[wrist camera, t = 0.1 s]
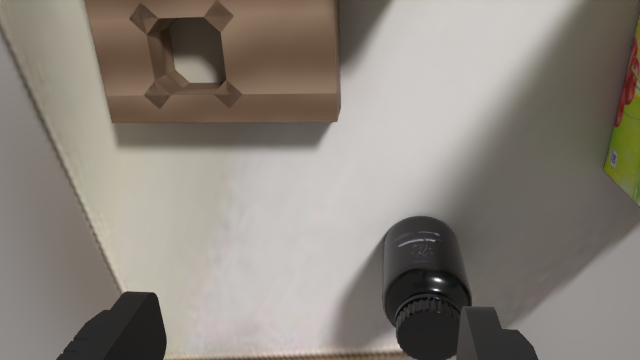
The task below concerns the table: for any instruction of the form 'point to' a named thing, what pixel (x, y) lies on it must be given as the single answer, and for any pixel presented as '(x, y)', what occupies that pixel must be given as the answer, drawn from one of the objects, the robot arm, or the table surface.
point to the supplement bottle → (424, 287)
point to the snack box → (627, 130)
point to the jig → (239, 59)
